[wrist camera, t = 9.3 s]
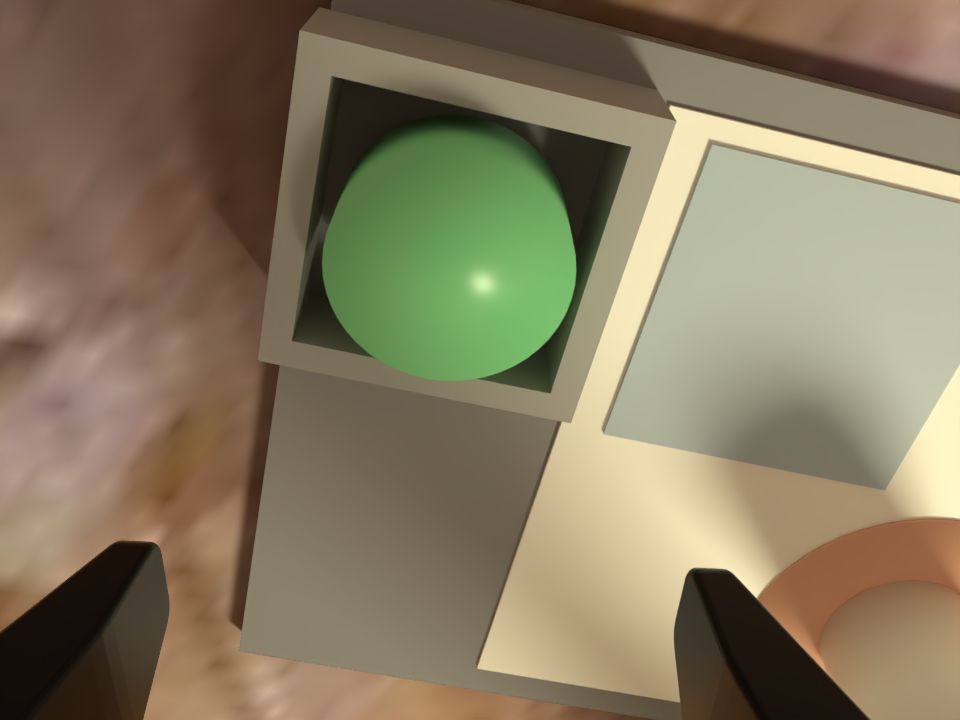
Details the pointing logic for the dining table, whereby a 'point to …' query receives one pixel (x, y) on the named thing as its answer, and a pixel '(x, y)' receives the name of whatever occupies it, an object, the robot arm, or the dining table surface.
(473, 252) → the button
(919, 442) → the colouring board
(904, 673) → the marker
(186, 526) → the dining table surface
